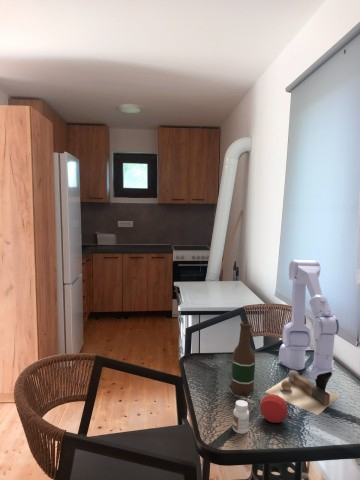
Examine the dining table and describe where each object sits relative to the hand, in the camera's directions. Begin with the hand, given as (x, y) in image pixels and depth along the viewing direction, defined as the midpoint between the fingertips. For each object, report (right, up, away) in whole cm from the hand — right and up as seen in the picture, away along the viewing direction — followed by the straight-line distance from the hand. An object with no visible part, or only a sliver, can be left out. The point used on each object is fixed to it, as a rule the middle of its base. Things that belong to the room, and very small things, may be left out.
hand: (320, 392), depth 117 cm
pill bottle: (-29, -4, -17) cm, 34 cm away
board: (-6, -3, +2) cm, 6 cm away
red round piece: (-19, -3, -12) cm, 22 cm away
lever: (-3, -1, +3) cm, 4 cm away
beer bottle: (-25, -2, +5) cm, 25 cm away
